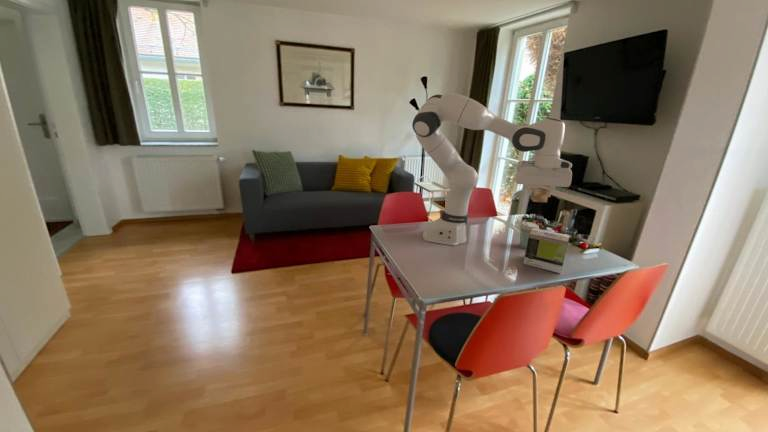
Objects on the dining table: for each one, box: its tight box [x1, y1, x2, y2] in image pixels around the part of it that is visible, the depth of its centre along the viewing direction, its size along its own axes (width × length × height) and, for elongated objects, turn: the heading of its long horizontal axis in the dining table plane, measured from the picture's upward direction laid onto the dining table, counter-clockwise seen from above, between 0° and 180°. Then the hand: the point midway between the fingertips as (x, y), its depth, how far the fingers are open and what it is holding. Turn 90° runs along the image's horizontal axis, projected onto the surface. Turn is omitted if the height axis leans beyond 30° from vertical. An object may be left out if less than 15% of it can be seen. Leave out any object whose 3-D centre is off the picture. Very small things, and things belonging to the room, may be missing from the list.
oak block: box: [529, 185, 550, 203], centre depth 128 cm, size 5×5×5 cm
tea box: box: [523, 228, 570, 274], centre depth 138 cm, size 15×10×15 cm, turn 58°
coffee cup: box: [519, 221, 540, 250], centre depth 157 cm, size 9×8×12 cm
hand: (539, 196), depth 128 cm, fingers closed on oak block, 5 cm apart
